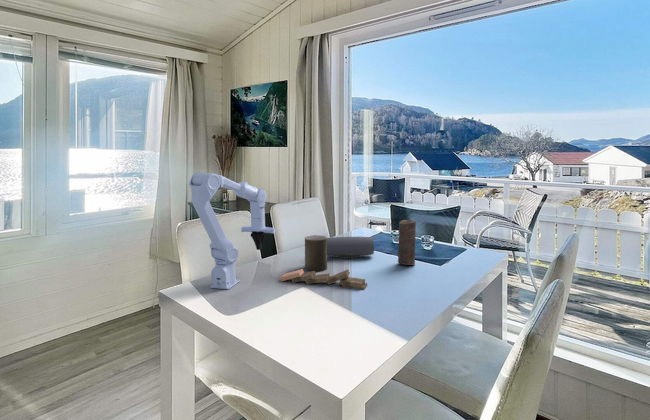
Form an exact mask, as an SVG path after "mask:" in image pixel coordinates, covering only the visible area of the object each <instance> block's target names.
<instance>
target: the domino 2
mask: <svg viewBox="0 0 650 420" xmlns="http://www.w3.org/2000/svg"><path fill="white" fill-rule="evenodd" d="M315 275H317V274H316V271H309V272H304V273H303V274H302V275H301V276H300V277H296V278H292V279H290V280H291V282H292V283H293V284H294V283H297V282H304V281H306V280H309V279H313V277H314V276H315Z"/></svg>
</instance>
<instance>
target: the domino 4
mask: <svg viewBox="0 0 650 420" xmlns="http://www.w3.org/2000/svg"><path fill="white" fill-rule="evenodd" d="M346 277H350V270H349V269H345V270H343V271H341V272H337V273H336V274H333V275H331V276H330V278H329V279H328V281H326V283H327V285H331V284H333V283H336V282H338V281H339V282H340V280H341V279H344V278H346Z"/></svg>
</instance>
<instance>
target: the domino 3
mask: <svg viewBox="0 0 650 420" xmlns="http://www.w3.org/2000/svg"><path fill="white" fill-rule="evenodd" d="M329 278H330V272H329V273H328V272H327V273H322V274H316V275H315V276H314V277H313V279H309V280H305V283H306V285H310V284H317V283H324V282H327V281H328V279H329Z"/></svg>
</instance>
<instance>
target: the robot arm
mask: <svg viewBox="0 0 650 420" xmlns="http://www.w3.org/2000/svg"><path fill="white" fill-rule="evenodd" d="M188 185H189V187H190V190H191V191H190V192H191V203H192V206H193V207H194V210H195V211H196V214H197V215H198V218H199V219H200V222H201V224H202V225H203V227H204V230H205V231H206V234H207V235H208V238H209V239H210V241H211V242H210V244H209V248H210V254H211V257H212V258H213V259H214V262H215V265H214V267H213V268H212V269H211V272H210V273H211V274H210V275H211V285H210V289H211V288H212V289H220V290H230V289H232V288H233V287H234V286H235V285H236V284H238V283H239V282H241V280H240V279H237V277H236V261H237V259H238V258H239V248H237V247H236V245H235V244H233V243H234V242H232V241H231V239H229V238H228V237H227V236H226V234H225V232H224V229H223V228H222V226H221V223H220V221H219V220H218V218H217V214H216V213H215V211H214V209H213V207H212V204H211V202H210V201H211V199H212V198H213V196H214V195H215V194H216V192H217V191H218V189H221V188H225V189H227V190H229V191H232V192H234V194H235V195H236V196H237V197H240V198H242V199H245V200H247V201H248V202H249V208H250V226H242V227H241V228H240V231H241V233H250V237H251V238H252V240H253V242H254V246H255V249H256V250H257V251H260V250H262V246H263V243H264V240H265V237H266V234H275V233H276V227H269V226H266V216H265V214H266V213H265V211H266V210H265V207H266V201H267V199H268V194H267V192H266V191H265V190H264V189H263V188H257V186H256V185H252V184H249V183H248V182H247V181H239V182H236V181H233V180H232V179H229V178H227V177H225V176H223V175H221V174H216V173H214V172H213V173H211V172H209V173H208V172H206V173H205V172H204V173H203V172H194V174H192V176H191V178H190V180H189V183H188Z"/></svg>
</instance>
